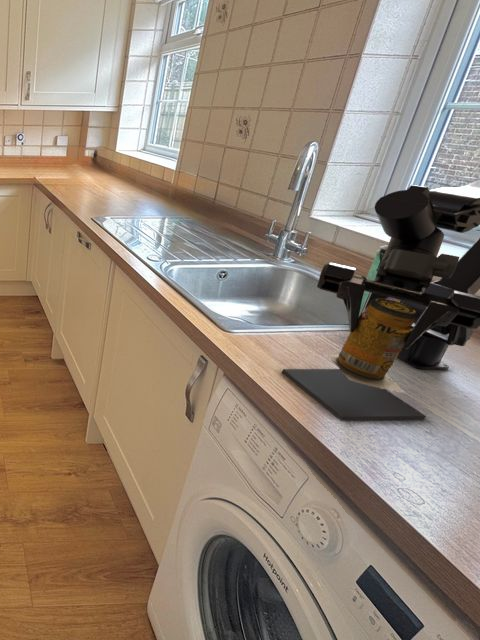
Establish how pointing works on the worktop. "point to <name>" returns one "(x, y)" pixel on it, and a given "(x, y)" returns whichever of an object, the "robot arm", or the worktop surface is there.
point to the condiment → (375, 343)
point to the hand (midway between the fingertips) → (377, 339)
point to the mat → (351, 396)
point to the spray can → (371, 276)
